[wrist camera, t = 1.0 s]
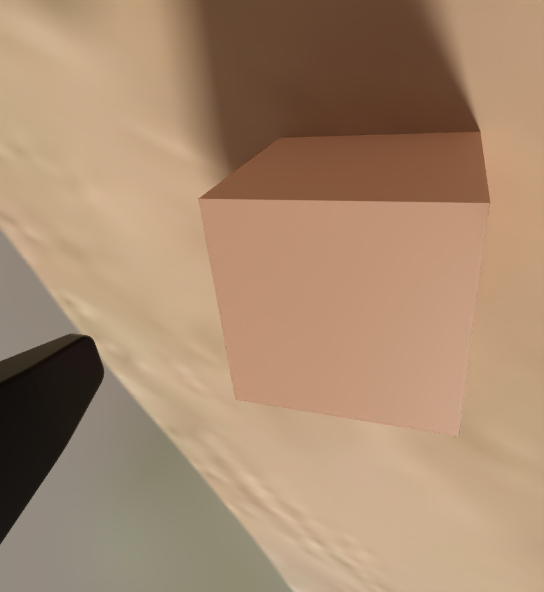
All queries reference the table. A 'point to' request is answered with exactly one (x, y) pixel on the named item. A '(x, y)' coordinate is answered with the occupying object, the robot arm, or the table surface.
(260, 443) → the table surface
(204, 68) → the table surface
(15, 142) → the table surface
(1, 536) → the robot arm
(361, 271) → the light brown cube
